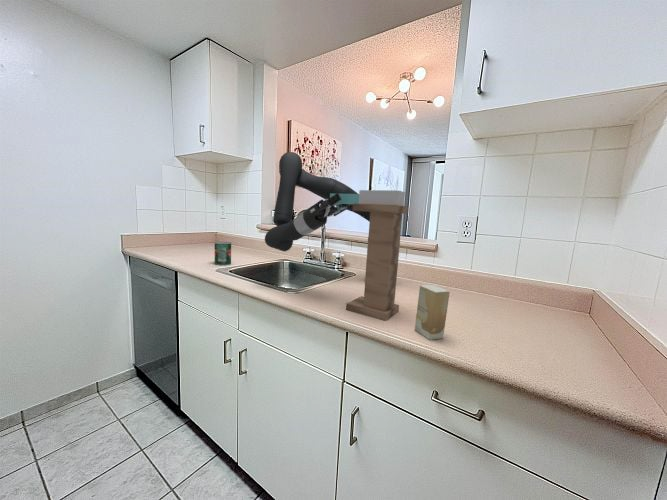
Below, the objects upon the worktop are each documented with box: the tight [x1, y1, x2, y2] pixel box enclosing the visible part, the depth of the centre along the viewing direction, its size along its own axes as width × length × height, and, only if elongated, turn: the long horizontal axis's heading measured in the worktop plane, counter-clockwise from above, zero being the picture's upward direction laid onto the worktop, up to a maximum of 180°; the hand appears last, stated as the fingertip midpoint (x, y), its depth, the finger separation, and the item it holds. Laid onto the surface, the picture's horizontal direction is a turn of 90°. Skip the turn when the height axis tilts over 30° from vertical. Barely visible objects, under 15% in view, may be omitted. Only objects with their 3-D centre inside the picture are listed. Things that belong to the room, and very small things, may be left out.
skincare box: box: [414, 284, 450, 341], centre depth 69 cm, size 6×4×12 cm
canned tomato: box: [214, 241, 232, 266], centre depth 139 cm, size 8×8×11 cm
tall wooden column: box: [345, 204, 409, 322], centre depth 83 cm, size 10×13×32 cm
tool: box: [330, 189, 406, 206], centre depth 83 cm, size 23×5×4 cm, turn 57°
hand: (346, 197), depth 87 cm, fingers open, 8 cm apart
